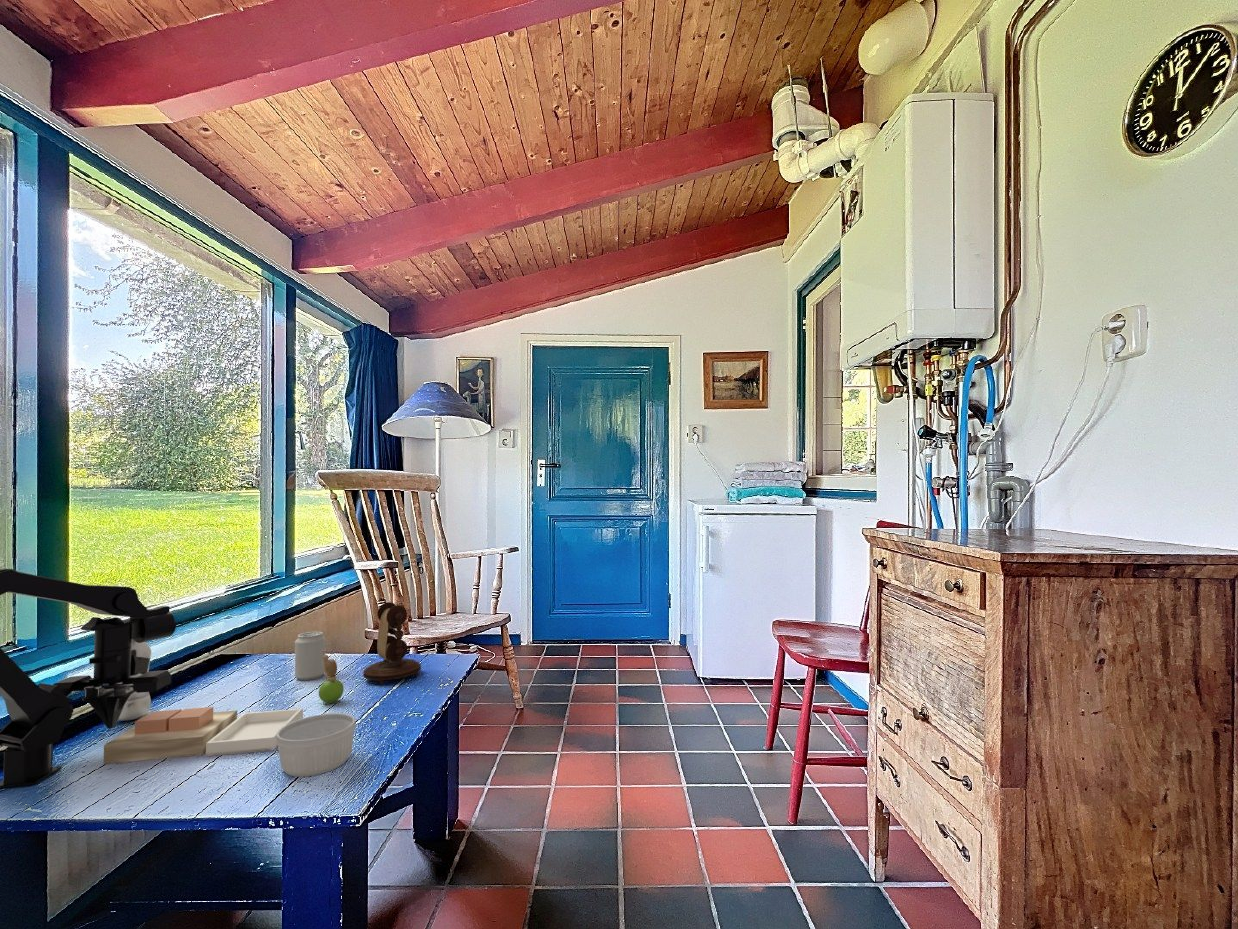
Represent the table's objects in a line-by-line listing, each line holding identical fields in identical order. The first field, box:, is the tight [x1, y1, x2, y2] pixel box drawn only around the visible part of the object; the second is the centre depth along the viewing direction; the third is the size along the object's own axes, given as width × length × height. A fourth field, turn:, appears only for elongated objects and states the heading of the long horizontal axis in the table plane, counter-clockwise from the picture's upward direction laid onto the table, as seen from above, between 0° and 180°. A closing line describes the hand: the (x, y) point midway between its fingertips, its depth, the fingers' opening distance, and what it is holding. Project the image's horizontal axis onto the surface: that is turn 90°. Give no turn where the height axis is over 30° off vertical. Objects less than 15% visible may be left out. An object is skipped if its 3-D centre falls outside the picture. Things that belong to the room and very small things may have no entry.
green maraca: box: [318, 649, 345, 704], centre depth 142 cm, size 5×6×12 cm
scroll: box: [362, 601, 422, 686], centre depth 161 cm, size 15×15×20 cm
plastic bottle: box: [117, 639, 152, 722], centre depth 134 cm, size 6×7×20 cm
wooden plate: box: [103, 710, 238, 765], centre depth 119 cm, size 14×17×4 cm
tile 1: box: [134, 708, 183, 734], centre depth 119 cm, size 6×6×2 cm
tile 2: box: [169, 706, 214, 732], centre depth 120 cm, size 6×6×2 cm
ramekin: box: [276, 712, 357, 778], centre depth 109 cm, size 13×13×7 cm
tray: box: [205, 707, 304, 757], centre depth 122 cm, size 16×12×2 cm
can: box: [294, 631, 326, 681], centre depth 163 cm, size 8×8×12 cm
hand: (111, 727), depth 117 cm, fingers closed
